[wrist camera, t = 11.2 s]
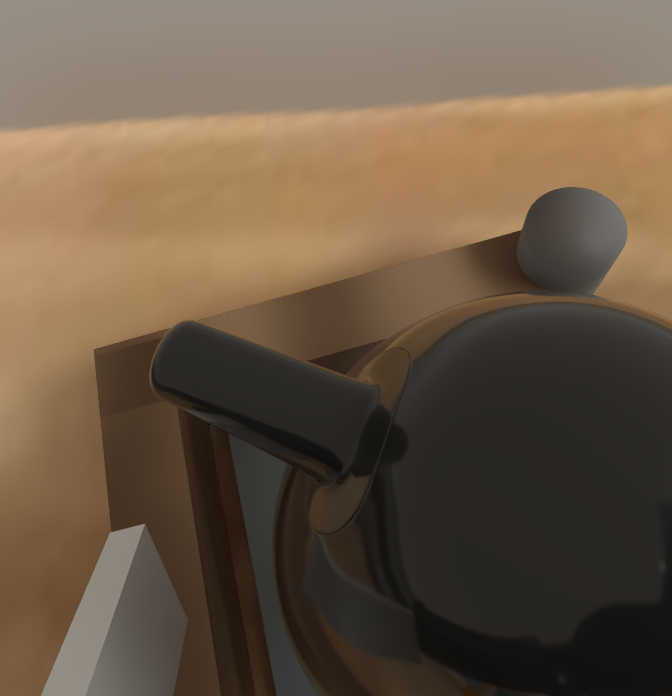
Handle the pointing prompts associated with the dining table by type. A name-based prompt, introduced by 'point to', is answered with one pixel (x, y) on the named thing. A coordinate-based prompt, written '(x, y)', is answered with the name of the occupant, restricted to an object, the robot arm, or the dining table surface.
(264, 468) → the pad
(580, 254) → the wooden corner bracket
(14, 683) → the dining table surface
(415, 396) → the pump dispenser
